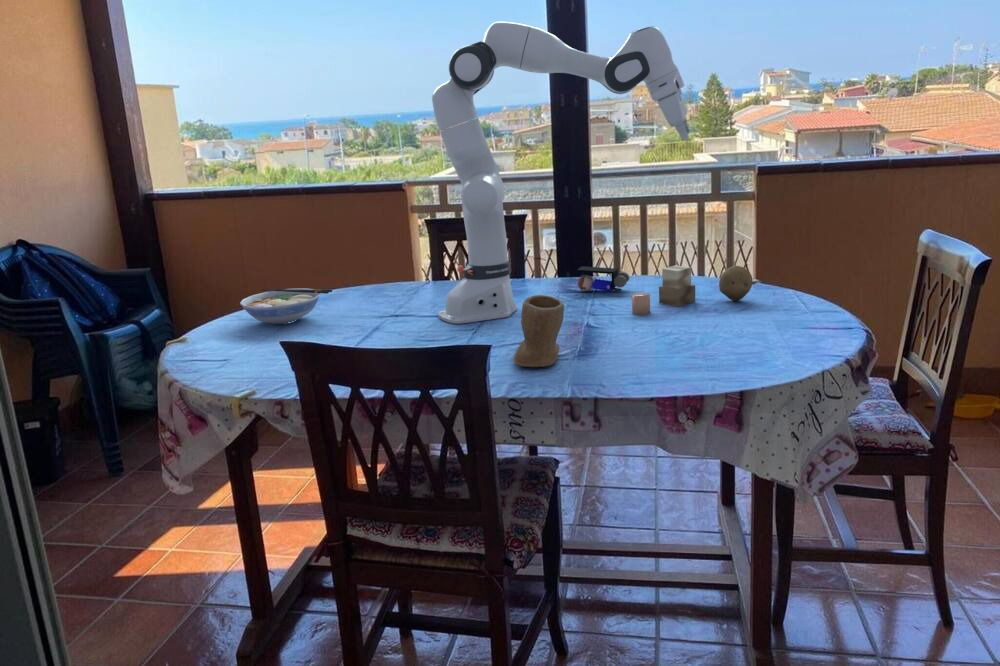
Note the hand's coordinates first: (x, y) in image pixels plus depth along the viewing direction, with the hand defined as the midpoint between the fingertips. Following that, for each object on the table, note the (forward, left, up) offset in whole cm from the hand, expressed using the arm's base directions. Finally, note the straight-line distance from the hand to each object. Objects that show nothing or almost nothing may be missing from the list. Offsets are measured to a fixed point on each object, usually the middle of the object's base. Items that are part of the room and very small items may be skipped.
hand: (686, 136), depth 212 cm
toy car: (-9, +27, -45) cm, 54 cm away
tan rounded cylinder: (-16, -1, -45) cm, 48 cm away
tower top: (-2, +1, -40) cm, 40 cm away
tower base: (-2, +1, -45) cm, 45 cm away
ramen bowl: (-98, +61, -45) cm, 124 cm away
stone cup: (-58, -19, -45) cm, 76 cm away
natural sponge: (+10, -9, -45) cm, 47 cm away
